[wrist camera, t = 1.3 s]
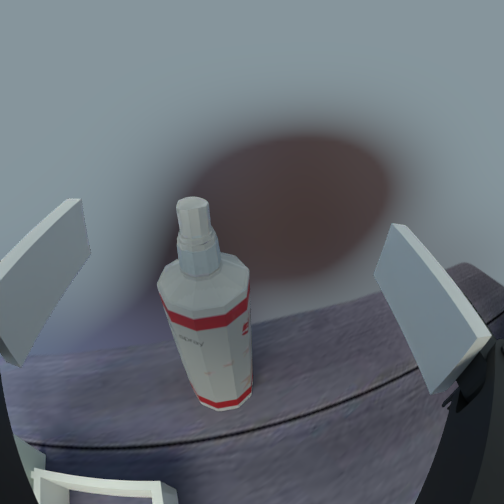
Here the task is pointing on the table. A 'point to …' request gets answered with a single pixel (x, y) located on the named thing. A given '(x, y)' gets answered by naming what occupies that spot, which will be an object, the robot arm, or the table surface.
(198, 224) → the spray bottle
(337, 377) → the table surface
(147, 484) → the bottle bracket
